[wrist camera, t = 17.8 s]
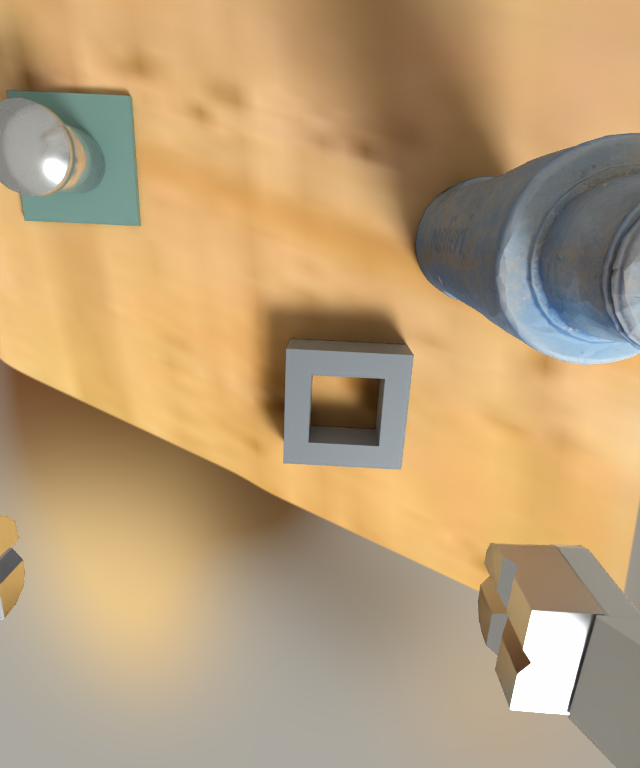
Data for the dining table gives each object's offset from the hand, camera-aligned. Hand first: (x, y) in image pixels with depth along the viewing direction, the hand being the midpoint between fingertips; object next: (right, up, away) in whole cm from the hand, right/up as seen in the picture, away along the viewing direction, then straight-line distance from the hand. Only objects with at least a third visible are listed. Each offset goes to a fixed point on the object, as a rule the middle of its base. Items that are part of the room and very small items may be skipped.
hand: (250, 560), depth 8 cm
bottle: (+14, +16, +34) cm, 40 cm away
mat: (-19, +22, +32) cm, 44 cm away
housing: (+4, +2, +38) cm, 39 cm away
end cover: (-19, +22, +32) cm, 43 cm away
